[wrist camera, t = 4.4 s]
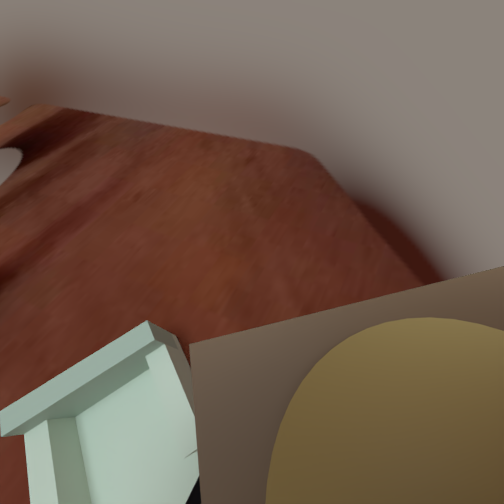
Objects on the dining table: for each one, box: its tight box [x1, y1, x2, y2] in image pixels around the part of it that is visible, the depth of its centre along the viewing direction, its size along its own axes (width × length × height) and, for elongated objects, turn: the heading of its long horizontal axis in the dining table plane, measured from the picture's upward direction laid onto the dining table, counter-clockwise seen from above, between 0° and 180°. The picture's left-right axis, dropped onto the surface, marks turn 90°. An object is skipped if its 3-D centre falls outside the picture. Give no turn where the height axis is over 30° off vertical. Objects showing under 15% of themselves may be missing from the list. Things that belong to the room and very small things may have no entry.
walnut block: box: [189, 266, 504, 504], centre depth 7 cm, size 4×5×13 cm
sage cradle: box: [0, 321, 199, 504], centre depth 15 cm, size 14×10×5 cm
